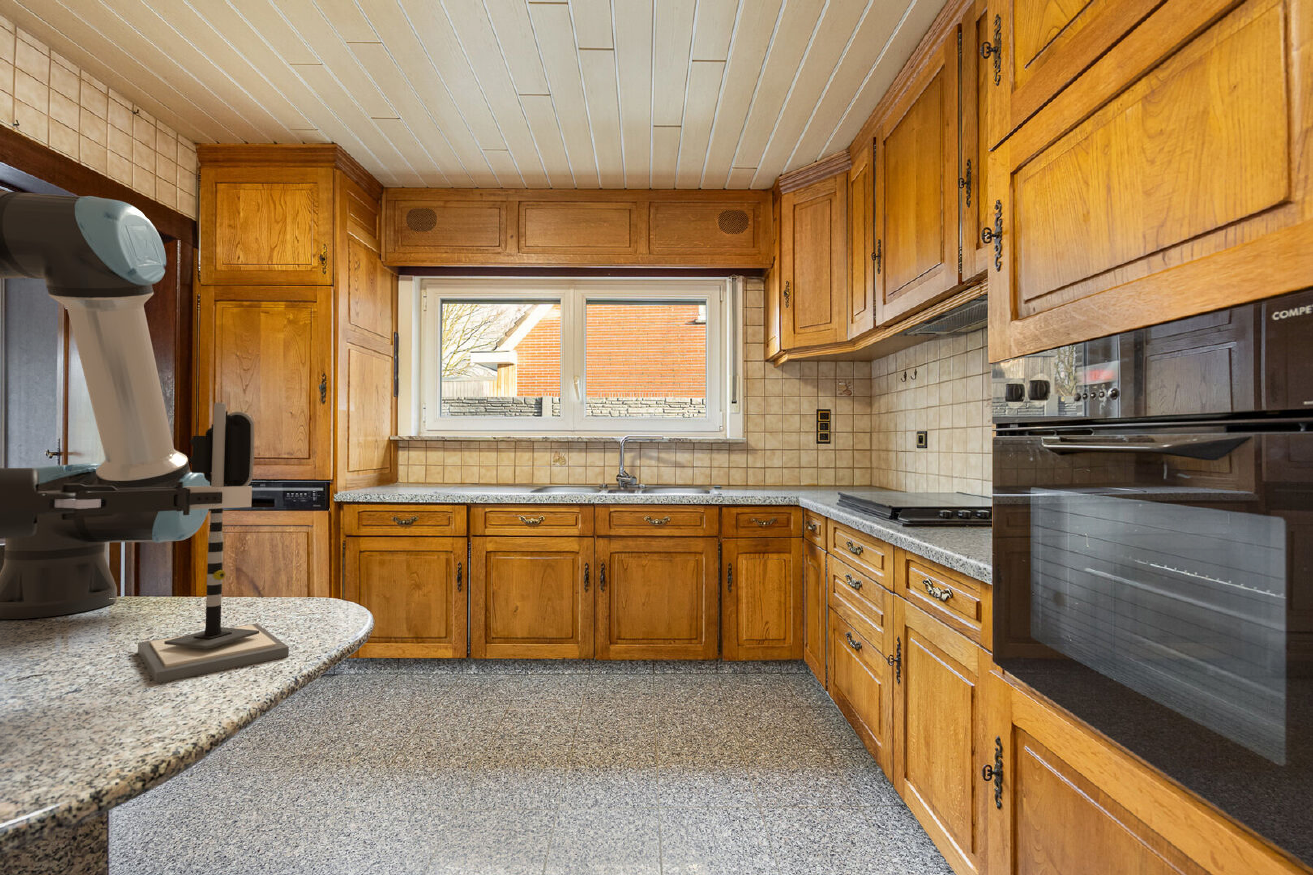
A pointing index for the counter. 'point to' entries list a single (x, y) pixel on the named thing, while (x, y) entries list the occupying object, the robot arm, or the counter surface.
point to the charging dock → (209, 655)
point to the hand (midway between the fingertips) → (247, 495)
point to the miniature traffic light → (220, 511)
